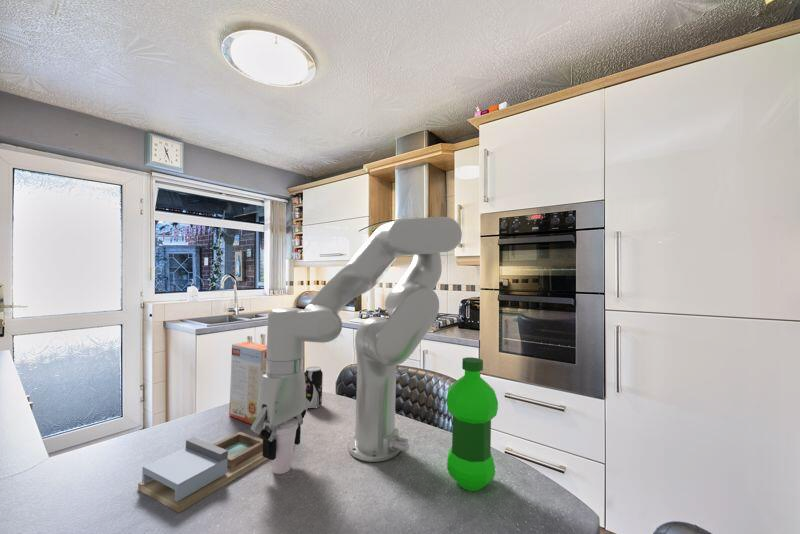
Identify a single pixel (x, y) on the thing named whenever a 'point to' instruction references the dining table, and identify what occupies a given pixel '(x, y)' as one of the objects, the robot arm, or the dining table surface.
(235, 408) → the cracker box
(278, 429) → the smoothie
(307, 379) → the beverage can
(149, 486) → the board
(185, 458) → the lid
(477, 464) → the plastic bottle
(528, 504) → the dining table surface
